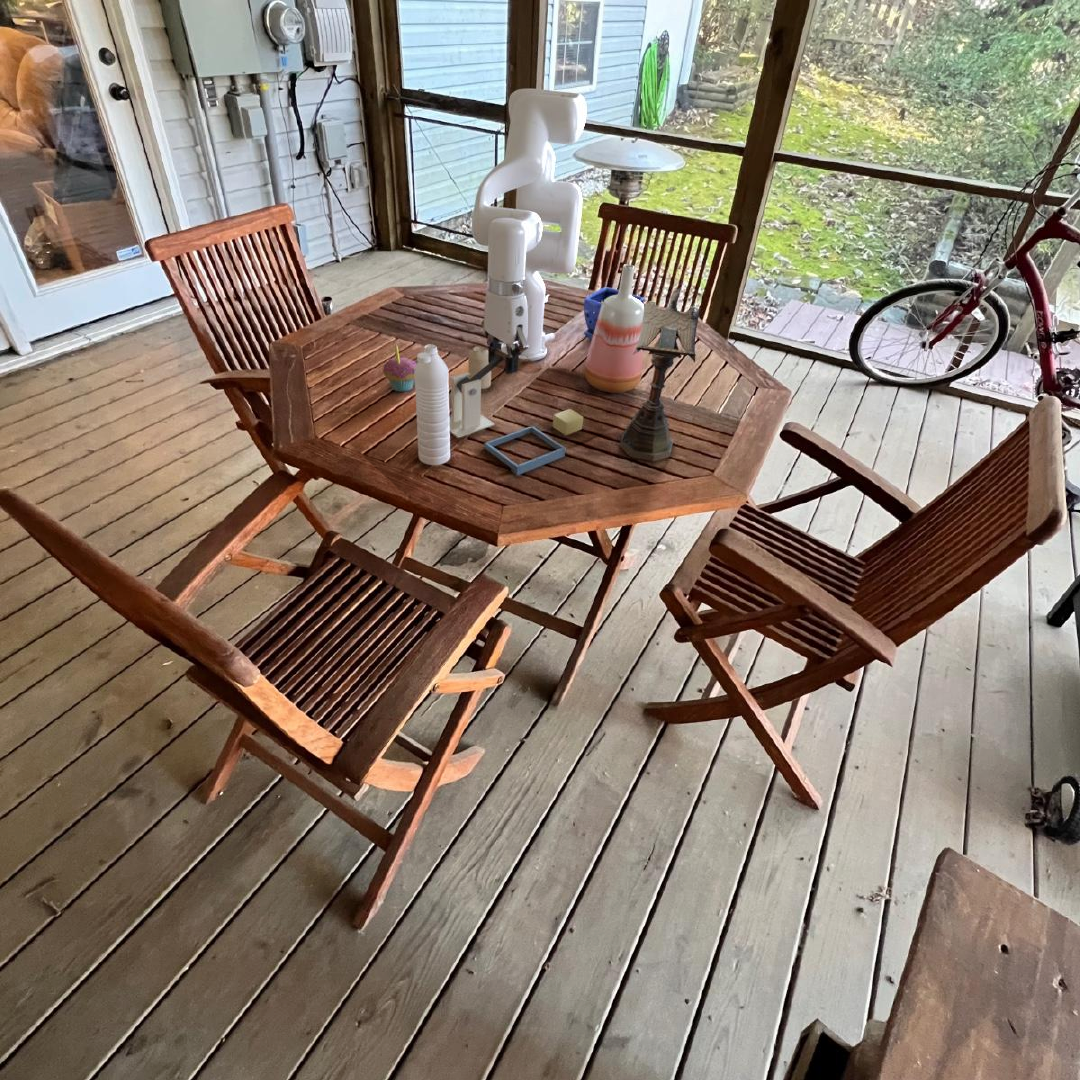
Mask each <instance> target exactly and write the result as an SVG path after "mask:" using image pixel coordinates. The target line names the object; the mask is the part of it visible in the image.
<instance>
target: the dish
mask: <svg viewBox="0 0 1080 1080" xmlns="http://www.w3.org/2000/svg"><path fill="white" fill-rule="evenodd" d="M531 433H532V434H533V435H535V436H536V437H538V438H540V439H541V441H544V442H545V443H547V444H548V445H550V446H551V447H553V448H554V449H555V450H552V451H550V452H547V453H545V454H543V455H540V456H537V457H535V458H532V459H530V460H528V461H525V462H522V463H520V464H517V463H515V462H514V461H513V460H512V459H510V458H508V457H507V456H506V455H504V454H503V453H502V452H501V451H499V450H498V449H497V448H495V447H496V446H498V445H501V444H503V443H507V442H509V441H513V440H515V439H517V438H520V437H522V436H525V435H528V434H531ZM483 448H484V449H485V450H487V451H488V452H489V453H490V454H492V455H493V456H494V457H496V458H497V459H498V460H499V461H501V462H503V463H504V464H505V465H507V466H508V468H510V469H509V471H510V472H511V473H513V475H515V476H519V475H523V474H525V473H528V472H530V471H532V470H535V469H537V468H539V467H543V466H544V465H547V464H550V463H551V462H554V461H556V460H557V461H558V460H559V459H561V458H564V457H565V456H566V448H567V447H565V446H563V445H562V444H561V443H559V442H557V441H556V440H555V439H553V438H551V437H550V436H548V435H547V434H545V433H544V432H542V431H541V430H540V429H538V428H536V427H535V426H533V425H531V426H528V427H525V428H521V429H519V430H517V431H514V432H511V433H508V434H505V435H503V436H501V437H500V436H499V437H498V438H495V439H492V440H489V441H487V442H484V447H483Z"/></svg>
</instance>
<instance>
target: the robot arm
mask: <svg viewBox="0 0 1080 1080" xmlns="http://www.w3.org/2000/svg"><path fill="white" fill-rule="evenodd" d="M508 113H509V114H508V115H509V120H510V122H509V129H508V135H507V140H506V141H507V142H506V147H505V153H504V159H503V160H502V161H500V162H499V163H498V164H497V165H495V166H494V167H493V168H492V169H491V170H490V171H489V172H488V173H487V175H486V176H484V178H483V180H482V181H481V182H480V184H479V186H478V188H477V191H476V195H475V200H474V207H473V211H472V218H471V234H472V237H473V240H474V241H475V242H476V243H477V244H479V245H481V246H483V247H488V248H487V287H486V292H485V300H484V309H483V320H482V321H481V323H480V324H481V328H482V329H483V331H484V335H485V337H486V339H487V340H486V345H487V346H488V349H487V350H488V363H490V362H491V361H493V360H494V359H495V358H496V357H497V356H496V355H495V354H494V351H495V349H499V350H501V351H503V352H504V353H506V354H508V356H507V357H506V361H505V360H504V361H505V365H504V369H505V371H504V373H505V374H506V375H511V374H514V373H517V372H518V371H519V361H520V360H530V361H532V362H536V361H539V360H542V359H543V358H545V357H546V356H547V353H548V352H547V351H548V349H547V347H546V346H545V344H547V342H551V341H554V340H555V339H556V335H555V333H554V332H550V333H546V332H545V331H544V330H543V329H544V318H545V317H544V315H545V303H546V302H545V296H546V286H545V283H544V279H543V278H542V276H541V274H539V273H550V274H559V275H567V274H569V273H572V272H573V270H574V269H575V266H576V263H577V258H578V249H579V239H580V229H581V219H582V209H583V195H582V190H581V187H579V185H577V184H576V183H573V182H571V181H563V180H555V179H554V178H555V177H554V173H555V165H556V164H555V163H556V155H555V152H554V149H553V147H552V146H551V144H561V145H574V144H575V143H576V142H577V141H578V140H579V138H580V136H581V134H582V133H583V131H584V127H585V124H586V119H587V104H586V100H585V97H584V96H583V95H582V94H580V93H578V92H569V91H560V90H559V91H558V90H550V89H549V90H548V89H542V88H541V89H540V88H519V89H516V90H514V91H513V92H512V93H511V94H510V95H509V99H508ZM550 143H551V144H550ZM513 190H516V195H515V208H509V207H501V206H491V205H492V204H493V202H494V201H495V200H496V199H497V198H499V197H501V196H502V195H503V194H505V193H507V192H510V191H513ZM543 225H555V226H558V227H559V228H560V229H561V231H558V230H547V229H543ZM500 342H502V343H500Z"/></svg>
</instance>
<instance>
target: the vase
mask: <svg viewBox="0 0 1080 1080" xmlns="http://www.w3.org/2000/svg"><path fill="white" fill-rule="evenodd" d="M634 274H635V266H634V265H633V264H623V265H622V270H621V276H620V283H619V288H618V290H619V292H618V294H617V295H613V296H610V297H608V298H606V299H605V300H604V301H602V302H601V303H602V305H601V309H600V312H599V316H598V319H597V323H596V326H595V330H594V334H593V337H592V339H591V341H590V345H589V348H588V352H587V356H586V359H585V364H584V370H583V372H584V374H583V375H584V378H585V380H586V381H587V383H588V384H589V385H590V386H591V387H593V388H594V389H597V390H599V391H602V392H604V393H605V392H606V393H612V394H613V393H614V394H619V393H621V394H622V393H626V392H630V391H632V390H633V389H635V388H636V387H637V386H638V385H639V384H640V382H641V380H642V374H643V362H644V361H643V360H644V350H640V351H639V352H637V353H635V354H634V355H633V353H634V351H635V349H636V346H637V343H638V341H639V337H640V333H641V328H642V321H643V313H644V306H645V305H644V303H643V304H642V303H641V302H640V301H639V300H638V299H636V298H634V297H632V295H631V294H632V291H633V290H632V288H633V282H634Z"/></svg>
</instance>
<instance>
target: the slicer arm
mask: <svg viewBox="0 0 1080 1080" xmlns="http://www.w3.org/2000/svg"><path fill="white" fill-rule="evenodd" d="M494 354H495V355H496V356H497V357H496V358H495V359H494V360H493V361H491V362H490V363H489V364H488V365H487V366H485V367H484V368H483V369H482V370H480V371H479V372H478V373H477V374H476V375H474V376H473V377H472V378H471V379H469V378H467V377H465V378H464V379H463V380H462V381H460V382H459V383H458V384H457V387H458V389H459V391H460V393H462V384H465V383H468V382H472V381H475V380H478V379H479V380H480V379H481V378H482V377H484V376H485V375H486V374H487V373H488V372H490V371H491V372H492V370H493V369H495V368H496V367H497V366H498V365H499V364H501V363H502V362H503V361H506V357H507V356H508V354H506V353H504V352H503V351H501V350H499V349H495V351H494Z"/></svg>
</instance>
